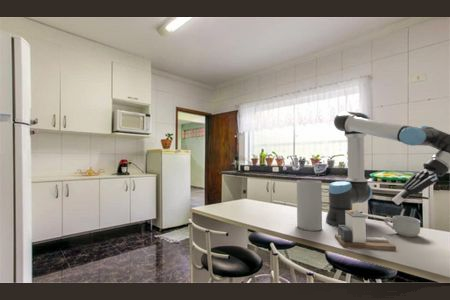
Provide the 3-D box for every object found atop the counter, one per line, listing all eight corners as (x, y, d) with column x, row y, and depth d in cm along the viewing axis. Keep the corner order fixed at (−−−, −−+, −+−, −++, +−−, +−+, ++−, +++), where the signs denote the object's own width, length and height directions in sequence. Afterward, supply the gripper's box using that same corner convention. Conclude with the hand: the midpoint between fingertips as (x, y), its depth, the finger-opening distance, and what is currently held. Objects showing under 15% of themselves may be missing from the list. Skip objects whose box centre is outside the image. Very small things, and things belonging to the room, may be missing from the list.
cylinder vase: (300, 222, 129) (299, 179, 130) (323, 226, 123) (322, 180, 124) (294, 228, 119) (294, 181, 119) (320, 232, 112) (319, 182, 113)
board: (334, 237, 106) (334, 233, 106) (381, 239, 103) (381, 236, 103) (343, 247, 94) (343, 243, 95) (396, 250, 91) (396, 246, 91)
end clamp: (338, 235, 104) (337, 224, 104) (345, 235, 104) (344, 225, 104) (344, 241, 96) (343, 230, 96) (351, 242, 96) (351, 230, 96)
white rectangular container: (345, 235, 104) (345, 208, 105) (357, 235, 103) (357, 208, 104) (353, 242, 95) (352, 213, 95) (366, 243, 94) (365, 213, 95)
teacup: (421, 234, 109) (420, 218, 110) (420, 240, 101) (420, 223, 102) (386, 228, 119) (386, 213, 119) (383, 233, 111) (383, 217, 111)
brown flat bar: (338, 237, 102) (338, 235, 102) (385, 240, 98) (384, 237, 98) (340, 239, 99) (340, 237, 99) (388, 242, 95) (388, 240, 96)
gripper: (460, 172, 87) (411, 212, 90) (435, 169, 99) (393, 205, 102) (444, 158, 88) (396, 198, 91) (421, 157, 101) (380, 193, 103)
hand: (394, 202), depth 97 cm, fingers closed
